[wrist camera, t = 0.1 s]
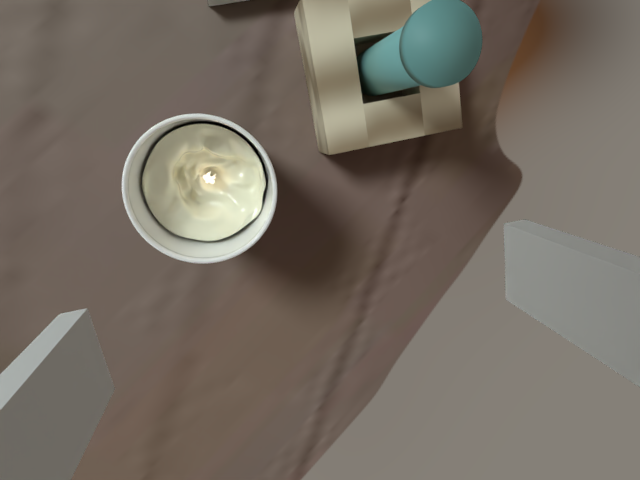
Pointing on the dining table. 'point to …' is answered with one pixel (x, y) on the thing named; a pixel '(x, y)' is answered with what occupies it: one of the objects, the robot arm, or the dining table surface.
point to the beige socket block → (344, 84)
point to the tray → (222, 2)
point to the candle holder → (199, 188)
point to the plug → (424, 50)
